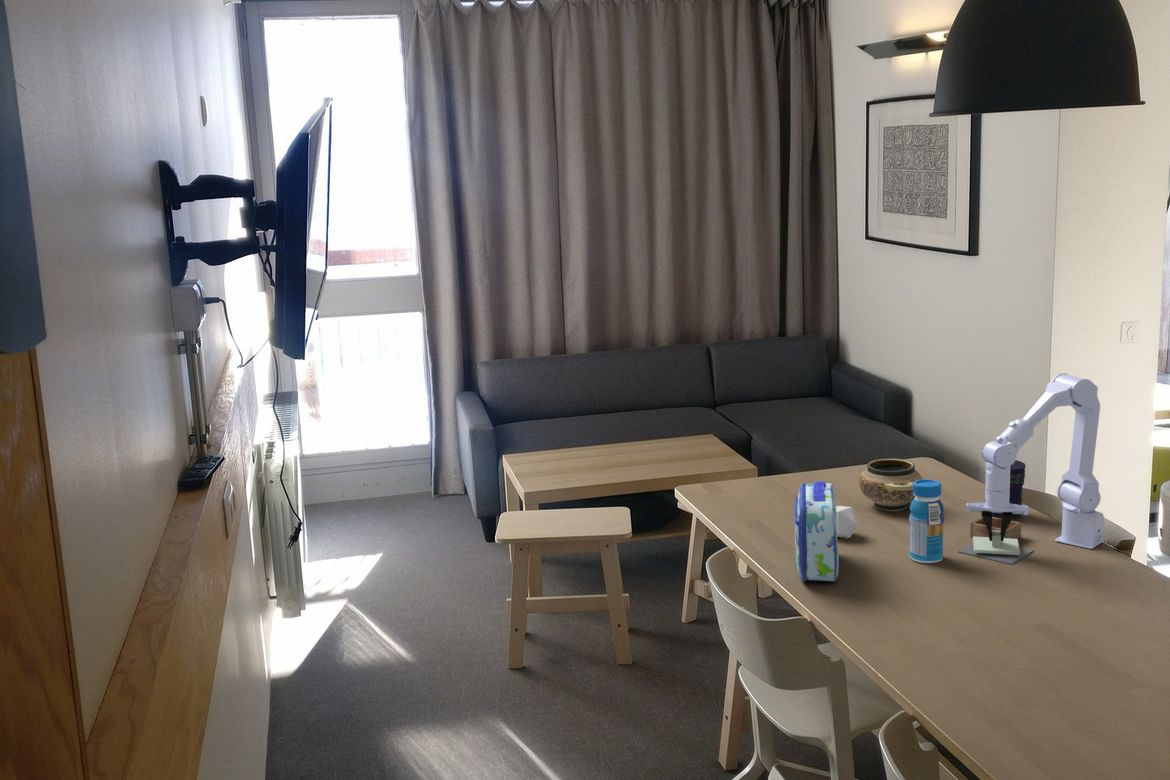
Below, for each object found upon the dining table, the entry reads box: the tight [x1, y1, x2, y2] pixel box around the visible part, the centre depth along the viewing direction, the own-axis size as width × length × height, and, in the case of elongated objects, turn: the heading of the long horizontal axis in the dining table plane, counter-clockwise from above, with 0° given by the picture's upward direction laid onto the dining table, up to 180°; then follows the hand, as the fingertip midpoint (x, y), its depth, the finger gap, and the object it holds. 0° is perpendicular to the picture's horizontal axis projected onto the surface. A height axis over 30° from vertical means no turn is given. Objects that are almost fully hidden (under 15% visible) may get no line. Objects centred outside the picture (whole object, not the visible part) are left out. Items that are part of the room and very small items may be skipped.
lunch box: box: [794, 480, 840, 582], centre depth 268 cm, size 26×11×21 cm, turn 168°
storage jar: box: [983, 459, 1026, 521], centre depth 301 cm, size 10×10×15 cm
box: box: [970, 516, 1022, 540], centre depth 285 cm, size 10×8×4 cm
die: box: [836, 505, 859, 539], centre depth 292 cm, size 8×9×10 cm
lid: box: [972, 530, 1020, 555], centre depth 275 cm, size 11×9×4 cm
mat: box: [958, 542, 1034, 566], centre depth 275 cm, size 14×12×1 cm
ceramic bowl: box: [858, 458, 924, 512], centre depth 313 cm, size 24×18×15 cm
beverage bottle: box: [908, 478, 945, 564], centre depth 271 cm, size 8×8×20 cm
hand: (996, 539), depth 275 cm, fingers closed on lid, 2 cm apart
